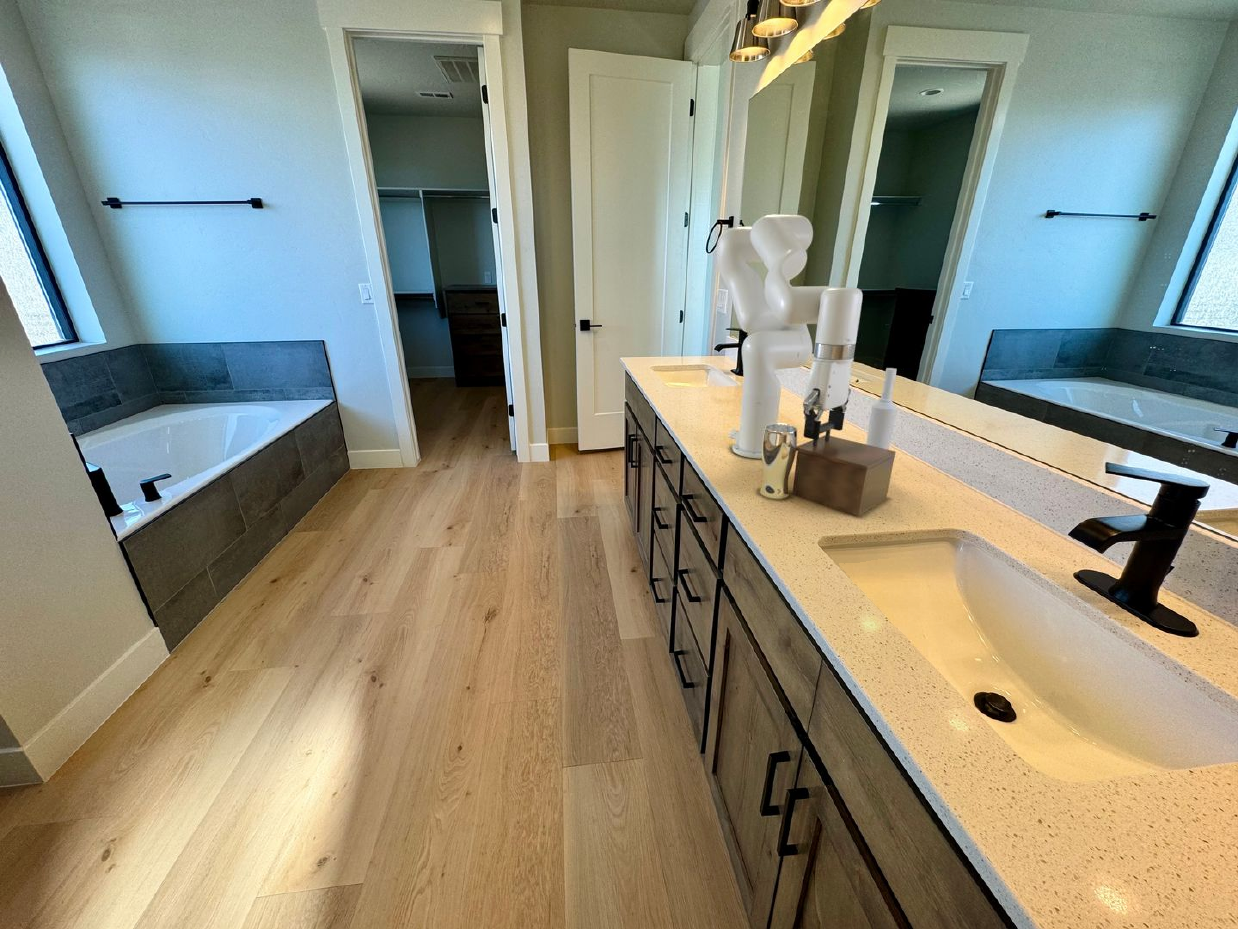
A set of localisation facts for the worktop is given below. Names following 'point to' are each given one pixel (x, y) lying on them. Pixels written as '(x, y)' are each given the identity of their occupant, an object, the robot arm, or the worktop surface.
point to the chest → (841, 483)
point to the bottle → (883, 415)
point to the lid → (845, 450)
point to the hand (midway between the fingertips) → (823, 433)
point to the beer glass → (778, 459)
